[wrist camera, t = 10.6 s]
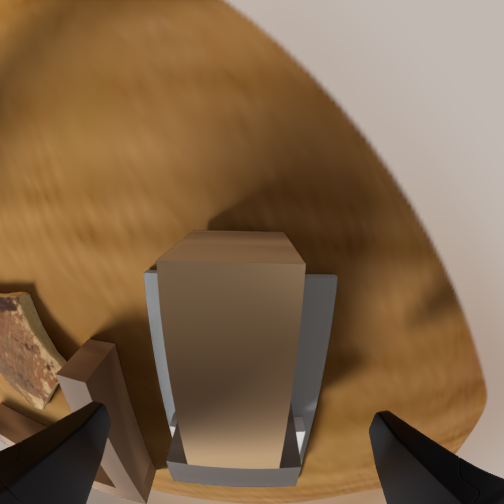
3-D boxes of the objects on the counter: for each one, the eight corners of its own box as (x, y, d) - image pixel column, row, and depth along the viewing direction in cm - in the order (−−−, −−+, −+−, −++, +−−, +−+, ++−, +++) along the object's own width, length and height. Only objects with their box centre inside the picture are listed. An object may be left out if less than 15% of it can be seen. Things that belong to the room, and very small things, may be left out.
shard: (-41, 287, 11) (-57, 295, 9) (-22, 204, 10) (-43, 207, 8) (50, 402, 13) (38, 418, 11) (89, 347, 12) (72, 366, 10)
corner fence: (8, 415, 13) (-9, 435, 10) (-39, 304, 11) (-65, 319, 8) (156, 470, 13) (146, 504, 10) (115, 343, 11) (85, 382, 8)
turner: (152, 229, 9) (94, 258, 5) (326, 233, 9) (374, 265, 6) (185, 461, 12) (174, 515, 8) (291, 464, 12) (298, 520, 8)
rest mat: (185, 475, 13) (184, 479, 13) (147, 269, 10) (144, 272, 10) (294, 478, 13) (295, 483, 13) (334, 274, 10) (337, 277, 10)
